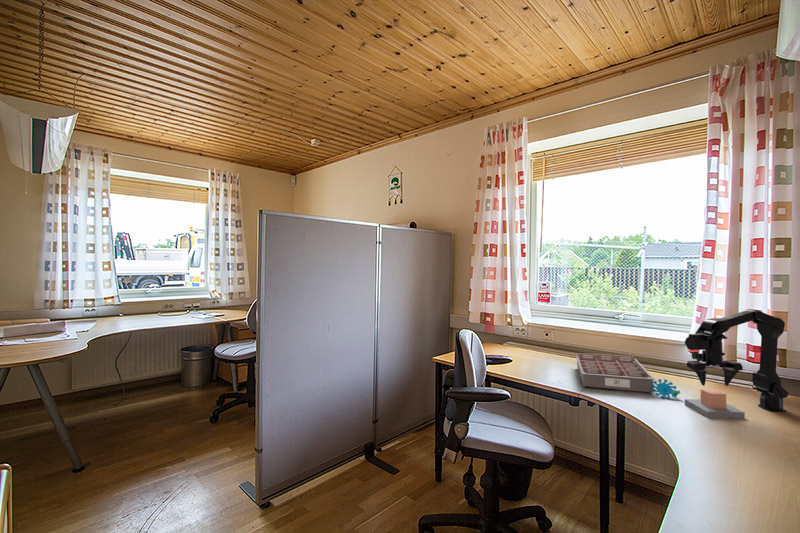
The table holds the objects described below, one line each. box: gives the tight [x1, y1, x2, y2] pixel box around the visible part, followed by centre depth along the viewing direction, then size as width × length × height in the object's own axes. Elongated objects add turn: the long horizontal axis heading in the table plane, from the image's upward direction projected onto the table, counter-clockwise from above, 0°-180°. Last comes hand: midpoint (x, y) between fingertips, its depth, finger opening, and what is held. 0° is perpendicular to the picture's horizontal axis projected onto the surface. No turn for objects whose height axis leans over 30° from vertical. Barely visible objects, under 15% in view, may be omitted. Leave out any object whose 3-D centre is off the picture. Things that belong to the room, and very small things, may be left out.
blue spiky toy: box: [652, 378, 681, 400], centre depth 175 cm, size 11×6×10 cm
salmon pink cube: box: [700, 388, 727, 408], centre depth 156 cm, size 6×6×6 cm
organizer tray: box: [575, 352, 656, 393], centre depth 201 cm, size 32×40×10 cm
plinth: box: [684, 398, 746, 419], centre depth 157 cm, size 14×14×2 cm
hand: (714, 385), depth 157 cm, fingers open, 9 cm apart
